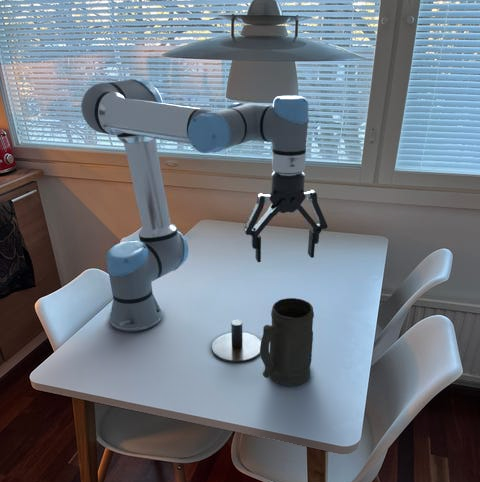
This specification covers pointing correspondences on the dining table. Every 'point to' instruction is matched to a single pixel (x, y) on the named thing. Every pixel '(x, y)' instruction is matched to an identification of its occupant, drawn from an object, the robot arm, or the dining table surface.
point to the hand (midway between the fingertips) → (284, 257)
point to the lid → (236, 345)
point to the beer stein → (288, 342)
